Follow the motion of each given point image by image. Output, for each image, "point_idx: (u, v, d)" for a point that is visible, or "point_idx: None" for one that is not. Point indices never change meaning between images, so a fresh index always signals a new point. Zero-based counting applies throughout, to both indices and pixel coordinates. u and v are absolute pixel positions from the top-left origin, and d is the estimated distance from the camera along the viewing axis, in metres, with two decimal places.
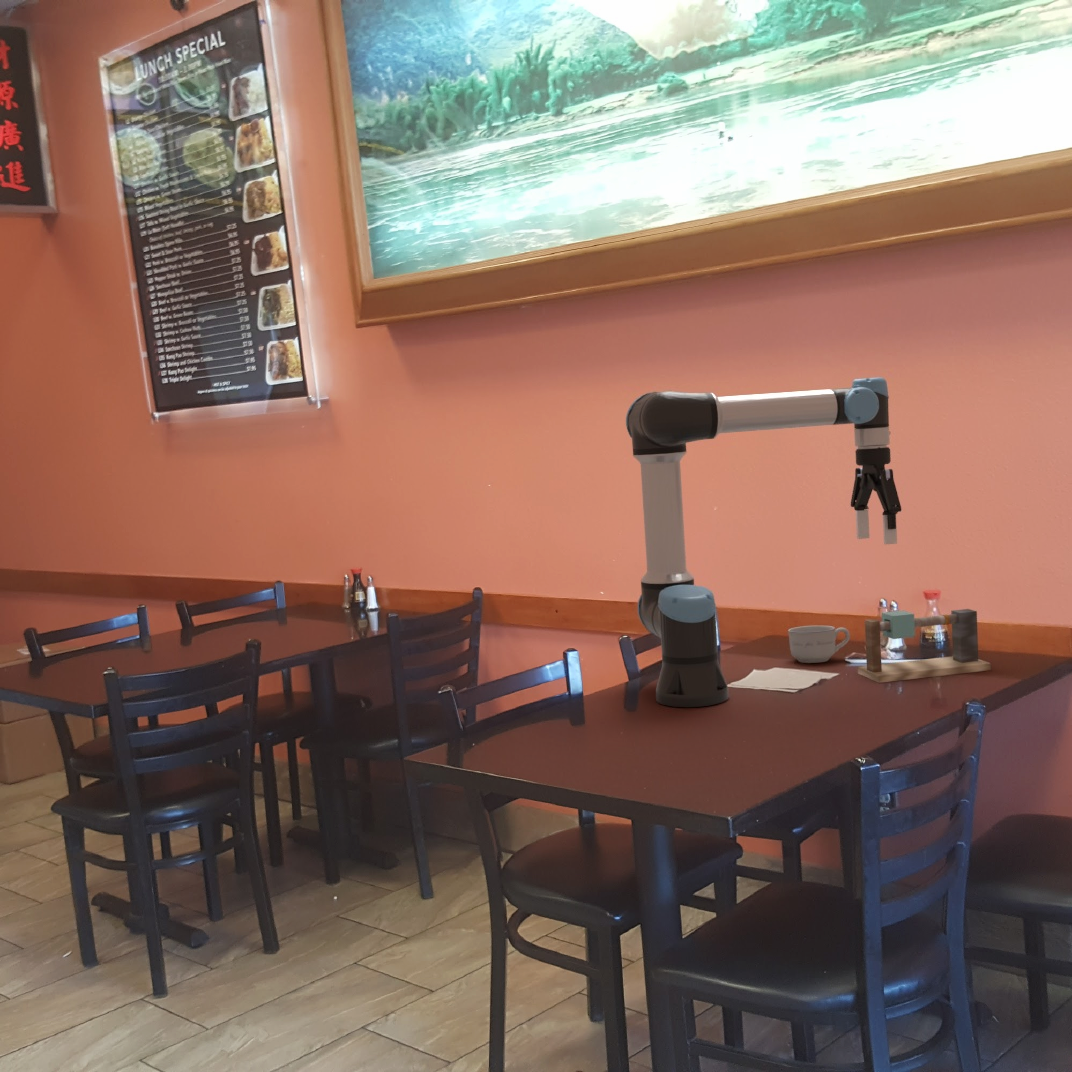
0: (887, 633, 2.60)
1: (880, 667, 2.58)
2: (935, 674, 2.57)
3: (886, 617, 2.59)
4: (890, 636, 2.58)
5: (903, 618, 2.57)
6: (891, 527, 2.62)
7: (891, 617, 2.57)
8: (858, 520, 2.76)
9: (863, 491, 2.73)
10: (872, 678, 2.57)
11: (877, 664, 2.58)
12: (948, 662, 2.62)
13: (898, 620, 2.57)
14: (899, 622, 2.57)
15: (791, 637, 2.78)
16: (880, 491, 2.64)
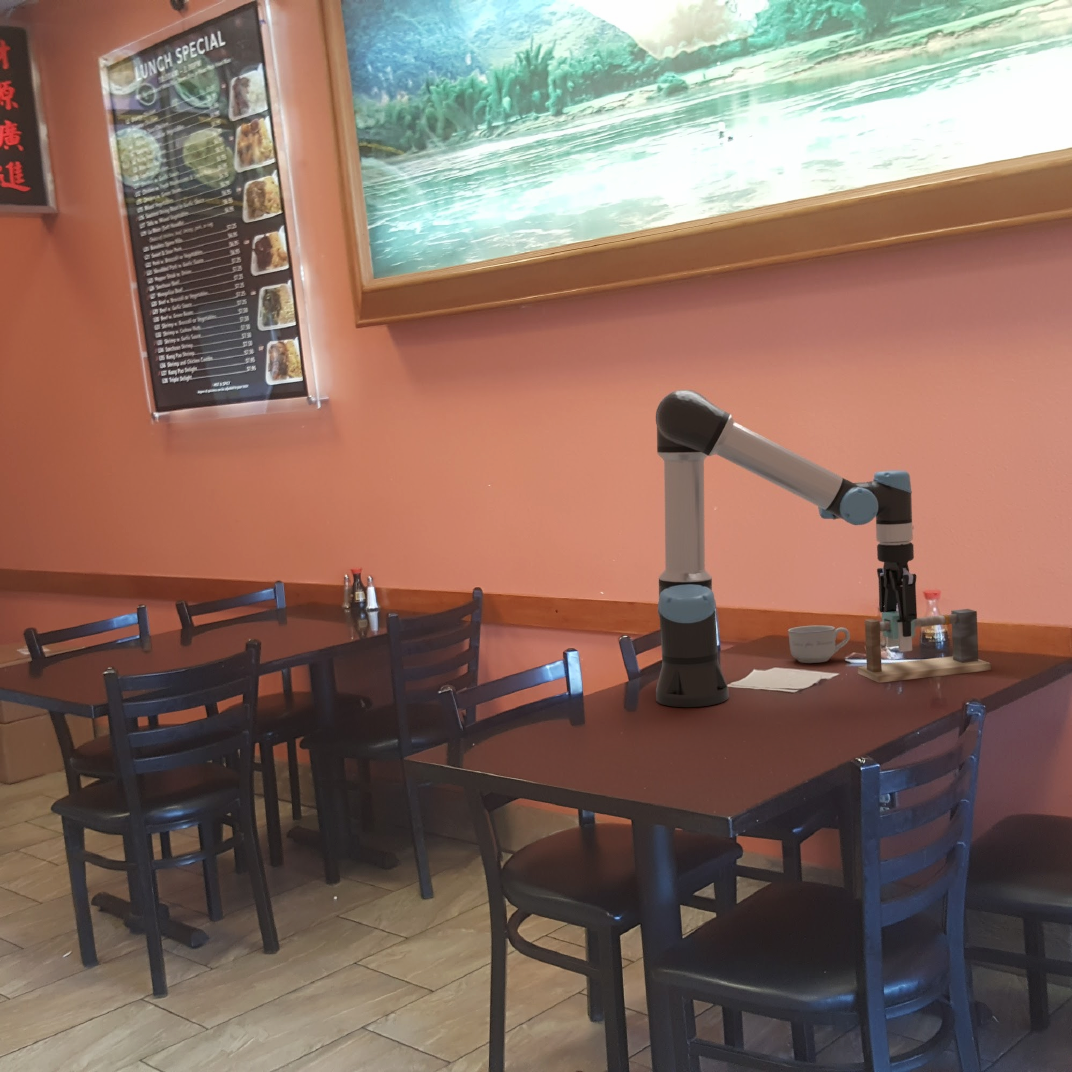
0: (887, 633, 2.60)
1: (880, 667, 2.58)
2: (935, 674, 2.57)
3: (886, 617, 2.59)
4: (890, 636, 2.58)
5: None
6: (906, 635, 2.55)
7: (891, 617, 2.57)
8: None
9: (888, 591, 2.61)
10: (872, 678, 2.57)
11: (877, 664, 2.58)
12: (948, 662, 2.62)
13: None
14: None
15: (791, 637, 2.78)
16: (899, 594, 2.56)
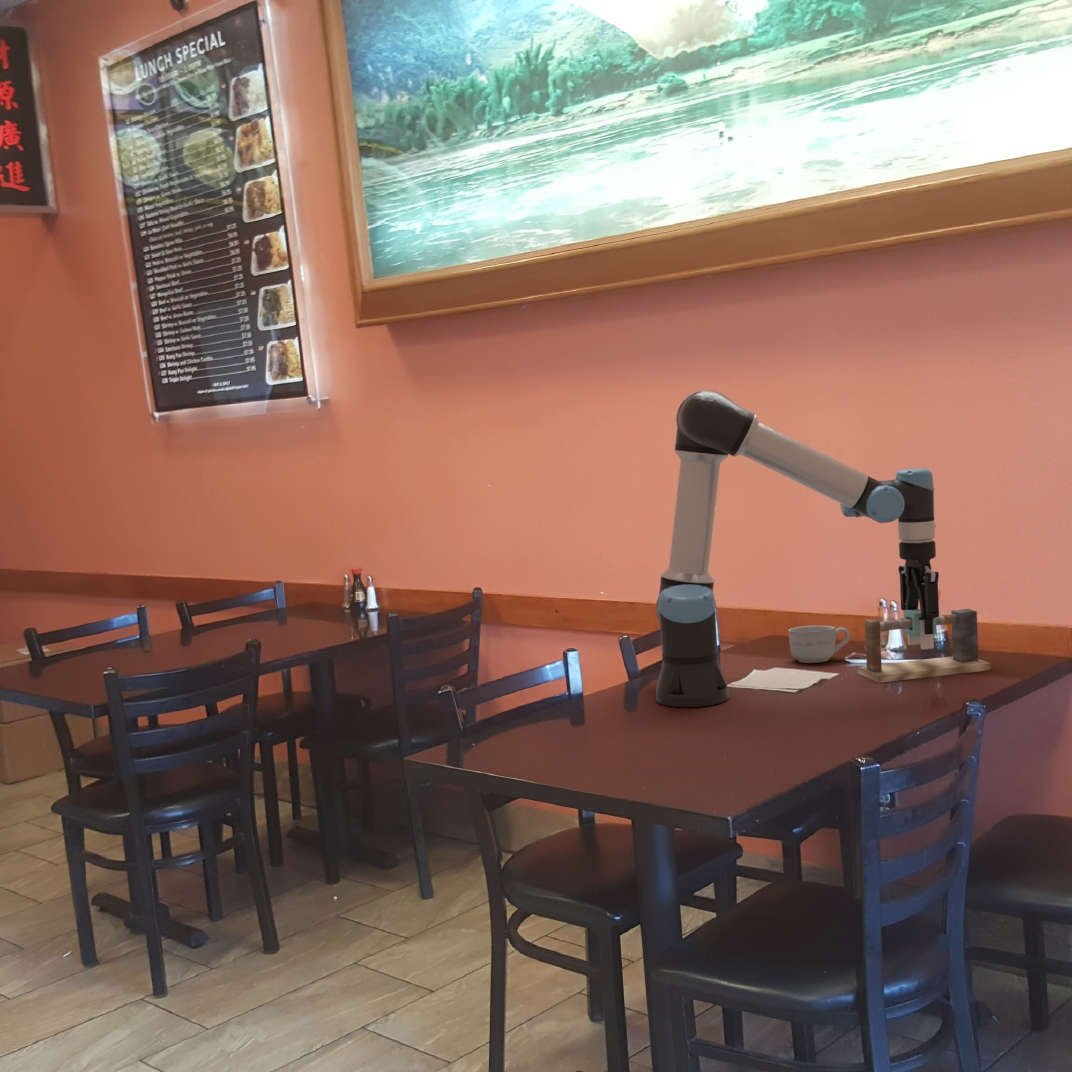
0: (909, 631, 2.60)
1: (880, 667, 2.58)
2: (935, 674, 2.57)
3: (908, 615, 2.60)
4: (912, 634, 2.59)
5: None
6: (928, 632, 2.56)
7: (913, 615, 2.58)
8: None
9: (910, 589, 2.61)
10: (872, 678, 2.57)
11: (877, 664, 2.58)
12: (948, 662, 2.62)
13: None
14: None
15: (791, 637, 2.78)
16: (921, 592, 2.57)
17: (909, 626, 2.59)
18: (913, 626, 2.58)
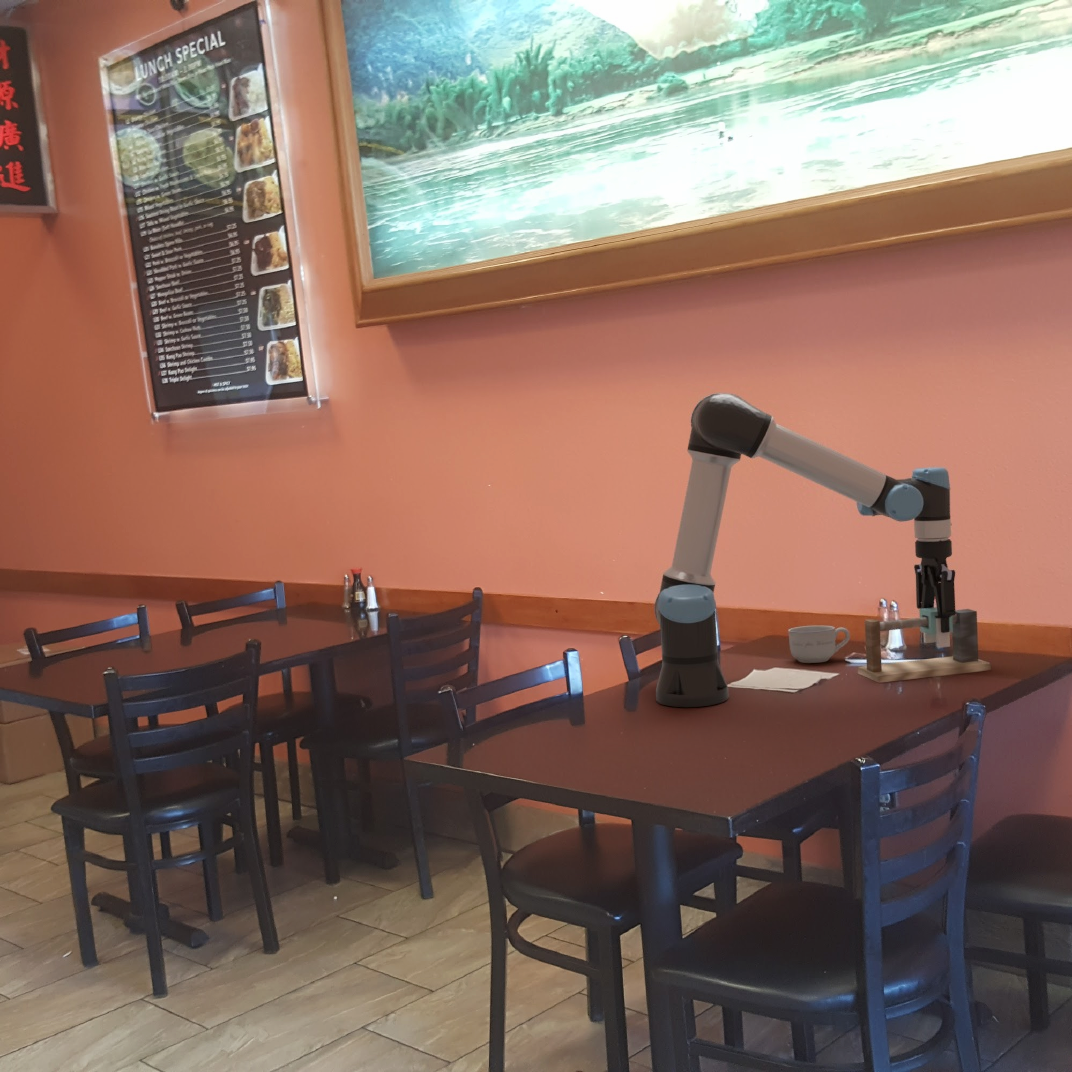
0: (925, 629, 2.61)
1: (880, 667, 2.58)
2: (935, 674, 2.57)
3: (924, 613, 2.61)
4: (928, 632, 2.60)
5: None
6: (944, 631, 2.57)
7: (929, 613, 2.59)
8: None
9: (926, 587, 2.62)
10: (872, 678, 2.57)
11: (877, 664, 2.58)
12: (948, 662, 2.62)
13: None
14: None
15: (791, 637, 2.78)
16: (938, 590, 2.57)
17: (909, 626, 2.59)
18: (929, 624, 2.59)
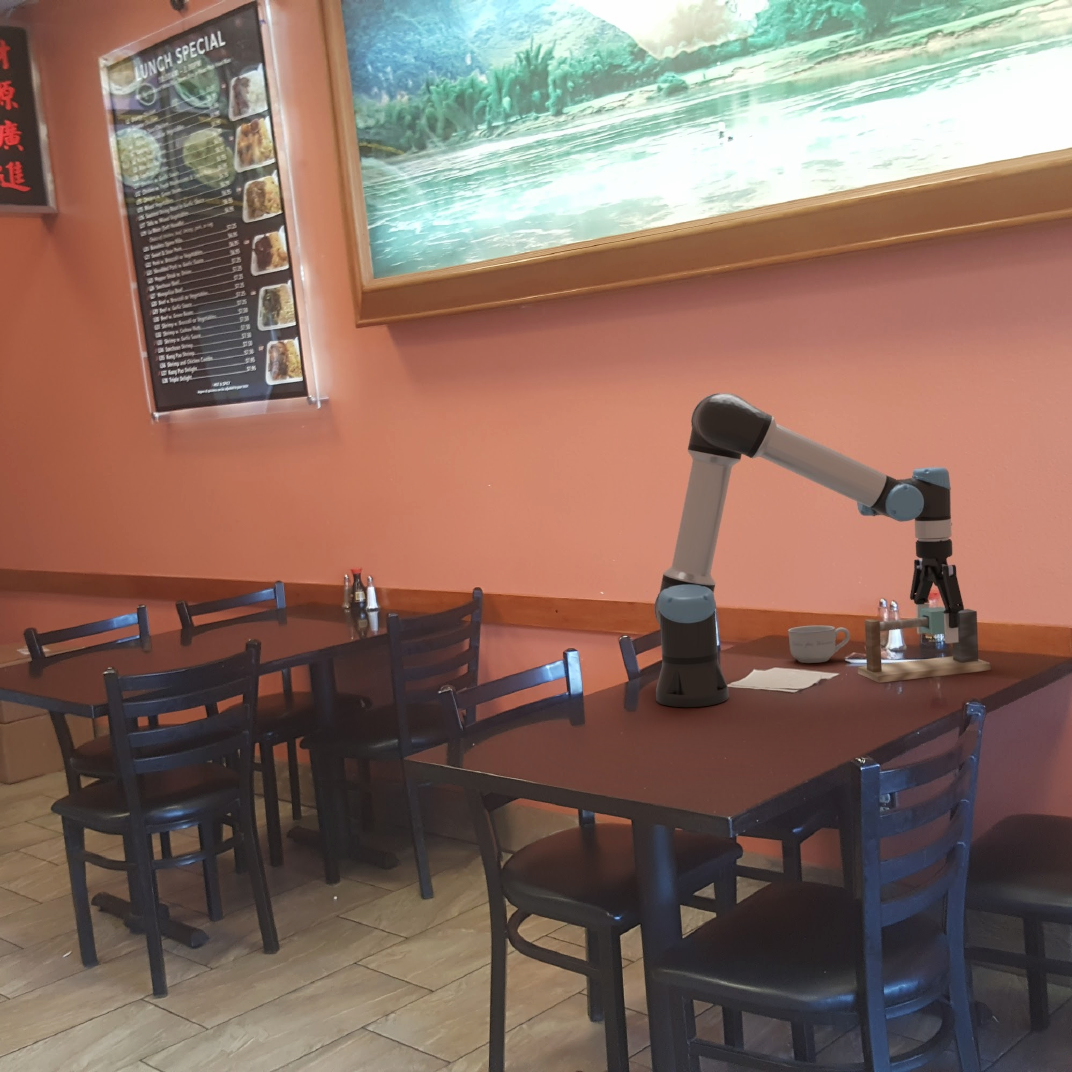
0: (925, 629, 2.61)
1: (880, 667, 2.58)
2: (935, 674, 2.57)
3: (924, 613, 2.61)
4: (929, 632, 2.60)
5: (942, 614, 2.59)
6: (953, 626, 2.54)
7: (930, 613, 2.59)
8: (918, 614, 2.67)
9: (923, 584, 2.63)
10: (872, 678, 2.57)
11: (877, 664, 2.58)
12: (948, 662, 2.62)
13: (937, 616, 2.58)
14: (938, 618, 2.58)
15: (791, 637, 2.78)
16: (942, 587, 2.56)
17: (909, 626, 2.59)
18: (930, 624, 2.59)
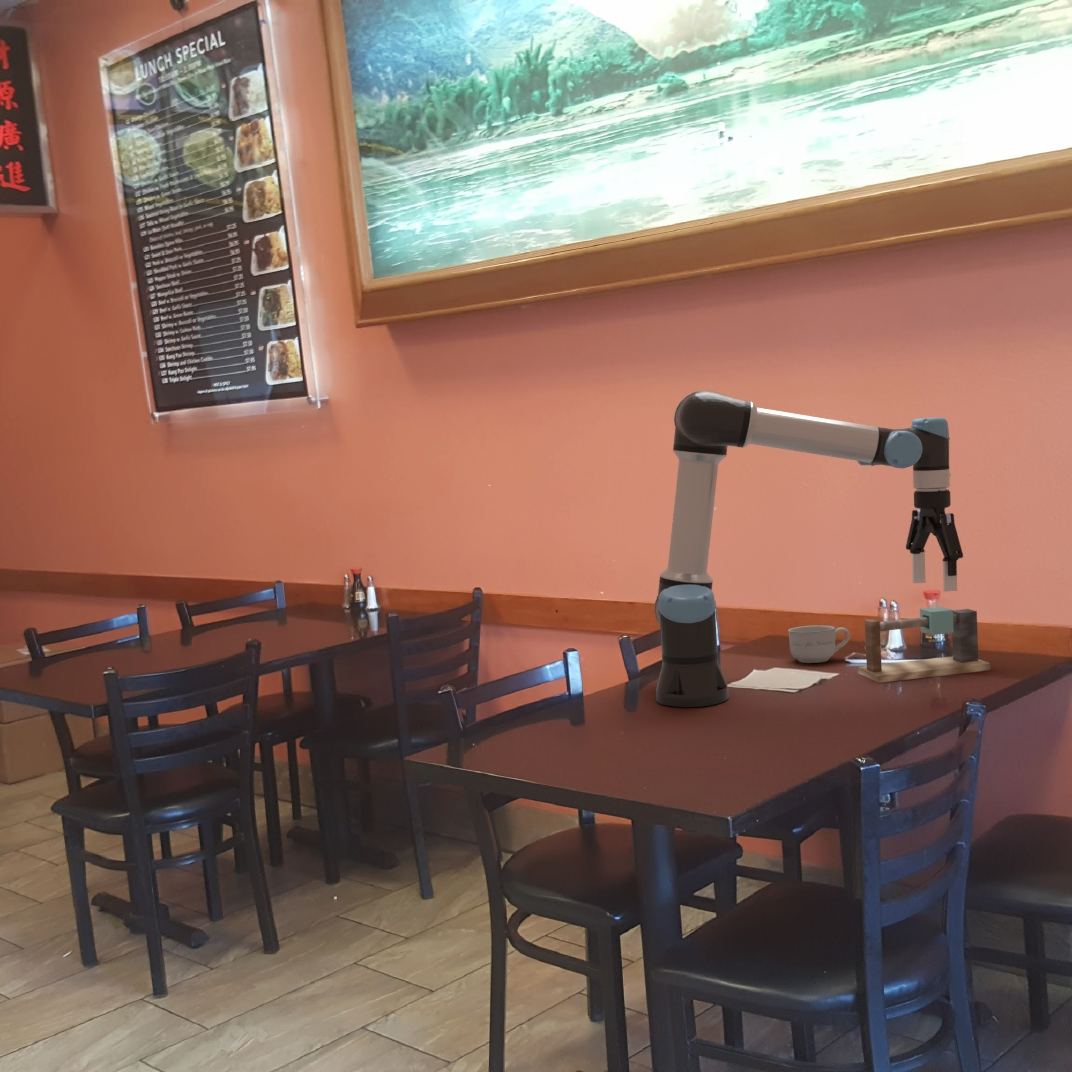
0: (925, 629, 2.61)
1: (880, 667, 2.58)
2: (935, 674, 2.57)
3: (924, 613, 2.61)
4: (929, 632, 2.60)
5: (942, 614, 2.59)
6: (952, 574, 2.52)
7: (930, 613, 2.59)
8: (914, 564, 2.66)
9: (920, 534, 2.63)
10: (872, 678, 2.57)
11: (877, 664, 2.58)
12: (948, 662, 2.62)
13: (937, 616, 2.58)
14: (938, 618, 2.58)
15: (791, 637, 2.78)
16: (940, 536, 2.54)
17: (909, 626, 2.59)
18: (930, 624, 2.59)
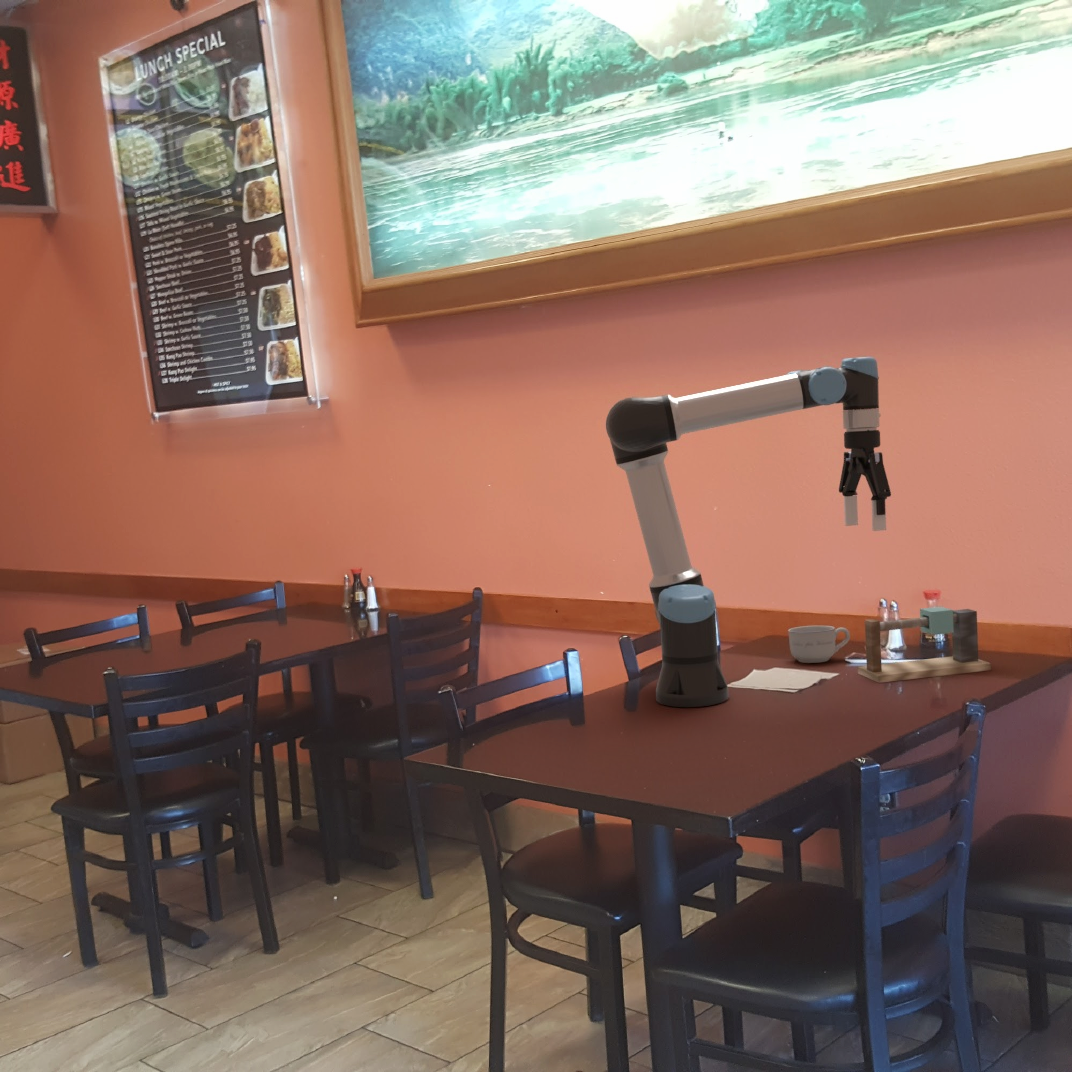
0: (925, 629, 2.61)
1: (880, 667, 2.58)
2: (935, 674, 2.57)
3: (924, 613, 2.61)
4: (929, 632, 2.60)
5: (942, 614, 2.59)
6: (880, 513, 2.51)
7: (930, 613, 2.59)
8: (846, 506, 2.65)
9: (851, 476, 2.62)
10: (872, 678, 2.57)
11: (877, 664, 2.58)
12: (948, 662, 2.62)
13: (937, 616, 2.58)
14: (938, 618, 2.58)
15: (791, 637, 2.78)
16: (869, 475, 2.54)
17: (909, 626, 2.59)
18: (930, 624, 2.59)
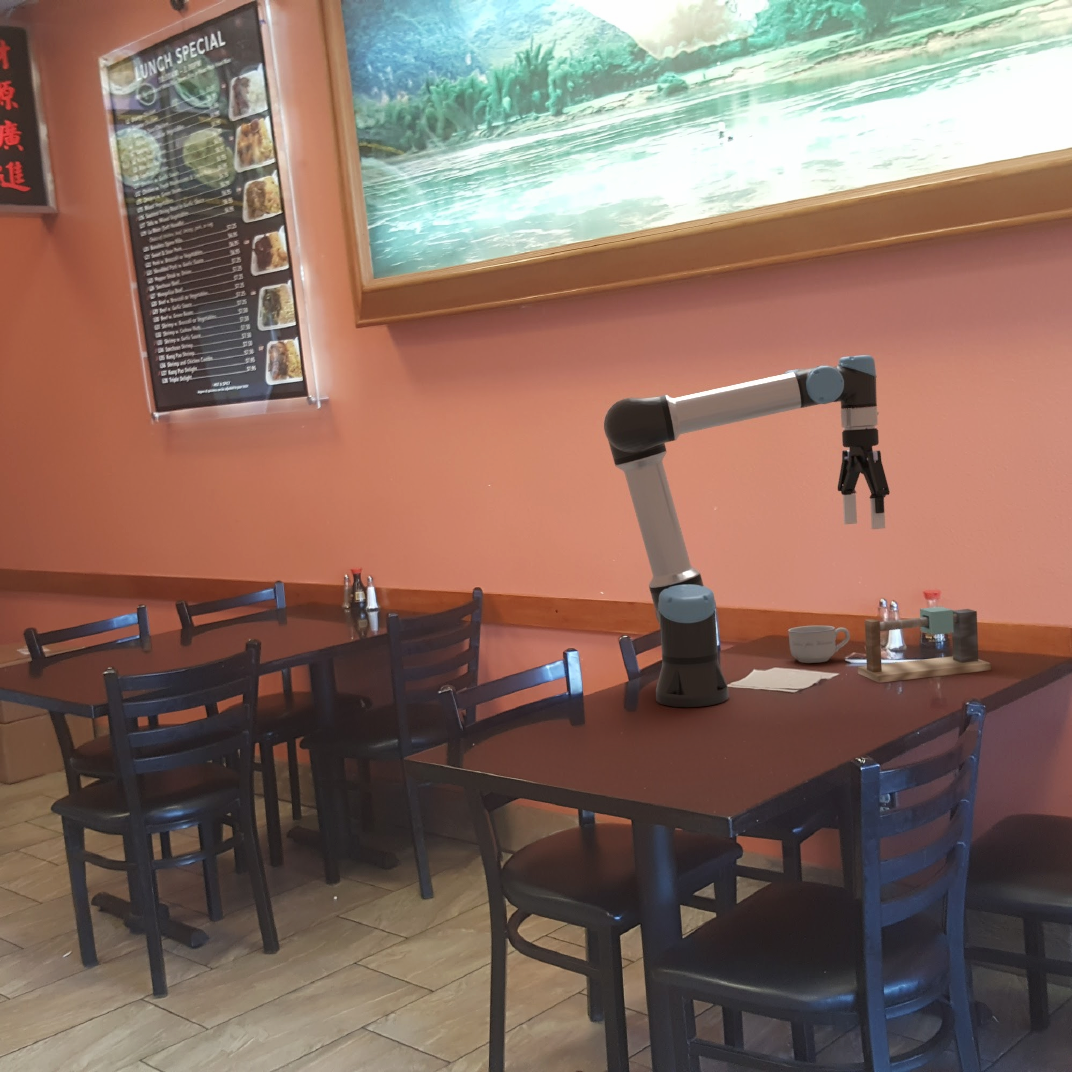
0: (925, 629, 2.61)
1: (880, 667, 2.58)
2: (935, 674, 2.57)
3: (924, 613, 2.61)
4: (929, 632, 2.60)
5: (942, 614, 2.59)
6: (879, 511, 2.51)
7: (930, 613, 2.59)
8: (845, 505, 2.65)
9: (850, 474, 2.62)
10: (872, 678, 2.57)
11: (877, 664, 2.58)
12: (948, 662, 2.62)
13: (937, 616, 2.58)
14: (938, 618, 2.58)
15: (791, 637, 2.78)
16: (867, 474, 2.54)
17: (909, 626, 2.59)
18: (930, 624, 2.59)
